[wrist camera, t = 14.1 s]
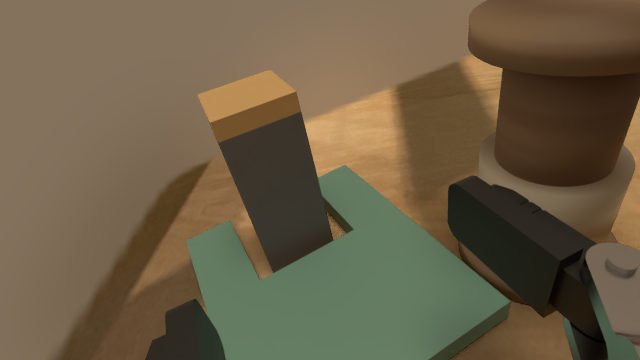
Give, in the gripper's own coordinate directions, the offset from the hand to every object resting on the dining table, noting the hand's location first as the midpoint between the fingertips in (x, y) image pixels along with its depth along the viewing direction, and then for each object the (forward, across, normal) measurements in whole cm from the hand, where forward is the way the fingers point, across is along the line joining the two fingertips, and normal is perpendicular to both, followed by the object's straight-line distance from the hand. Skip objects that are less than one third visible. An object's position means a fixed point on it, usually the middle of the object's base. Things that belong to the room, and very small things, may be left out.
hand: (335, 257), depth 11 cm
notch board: (+6, 0, +8) cm, 10 cm away
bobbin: (+2, -11, +8) cm, 14 cm away
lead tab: (+10, 0, +8) cm, 13 cm away
